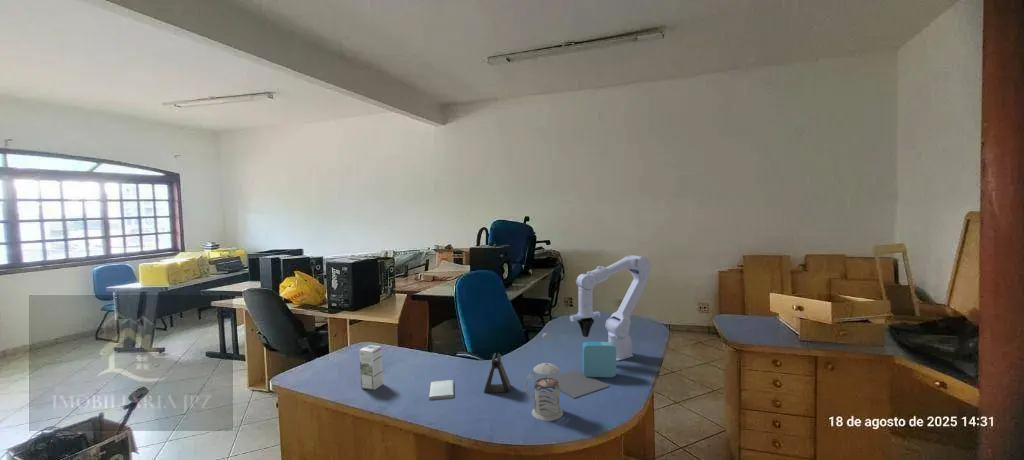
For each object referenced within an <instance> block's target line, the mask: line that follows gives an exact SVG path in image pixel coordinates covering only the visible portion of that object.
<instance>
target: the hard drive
mask: <svg viewBox="0 0 1024 460" xmlns="http://www.w3.org/2000/svg"><path fill="white" fill-rule="evenodd" d="M429 386H430V387H429V395H428V401H433V400H442V399H453V398H454V380H453V379H449V380H448V379H446V380H437V381H431V382H430V385H429Z"/></svg>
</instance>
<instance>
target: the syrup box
mask: <svg viewBox="0 0 1024 460" xmlns="http://www.w3.org/2000/svg"><path fill="white" fill-rule="evenodd" d="M358 352H359V353H358V354H359V368H360V369H359V370H360V388H361V389H362V390H363V389H364V390H372V391H375V390H377V389H379V387H381V386H383V384H384V375H383V357H382V355H383V354H382V352H383V351H382V345H381V346H380V345H365V346H364V347H362V348H361V349H359V350H358Z"/></svg>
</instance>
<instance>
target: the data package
mask: <svg viewBox="0 0 1024 460" xmlns="http://www.w3.org/2000/svg"><path fill="white" fill-rule="evenodd" d="M581 346H582V347H581V351H582V352H581V369H582V372H583V373H584V375H585V376H586V377H593V378H615V376H616V375H617V360H616V347H615V346H614V344H613V343H612V342H609V341H585V342H583V343H582V345H581Z"/></svg>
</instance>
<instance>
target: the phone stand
mask: <svg viewBox="0 0 1024 460" xmlns="http://www.w3.org/2000/svg"><path fill="white" fill-rule="evenodd" d="M496 355H497V356H496ZM495 369H497V370H498V373H499V377H500V381H501V383H498V384H497V383H496V384H495V383H493V384H492V381H493V376H494V373H495ZM510 390H511V382H510V380H509V378H508V375H507V372H506V369H505V367H504V365H503V362H502V354H501V353H500V352H498V353H496V352H494V354H493V355H492V359H491V367H490V370H489V372H488V375H487V379H486V382H485V385H484V390H483V394H495V393H499V394H500V393H501V394H503V393H504V394H506V393H511V391H510Z"/></svg>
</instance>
